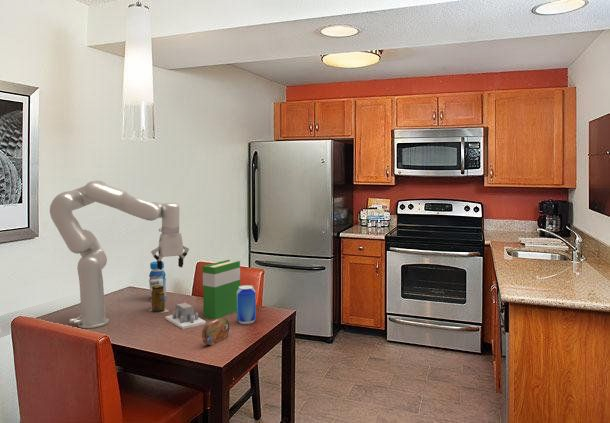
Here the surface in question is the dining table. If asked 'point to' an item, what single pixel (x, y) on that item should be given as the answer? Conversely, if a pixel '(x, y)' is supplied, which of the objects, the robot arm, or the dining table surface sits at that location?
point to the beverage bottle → (157, 277)
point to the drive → (184, 311)
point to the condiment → (158, 300)
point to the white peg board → (184, 325)
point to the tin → (215, 331)
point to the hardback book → (220, 288)
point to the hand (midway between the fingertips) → (170, 268)
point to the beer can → (246, 304)
